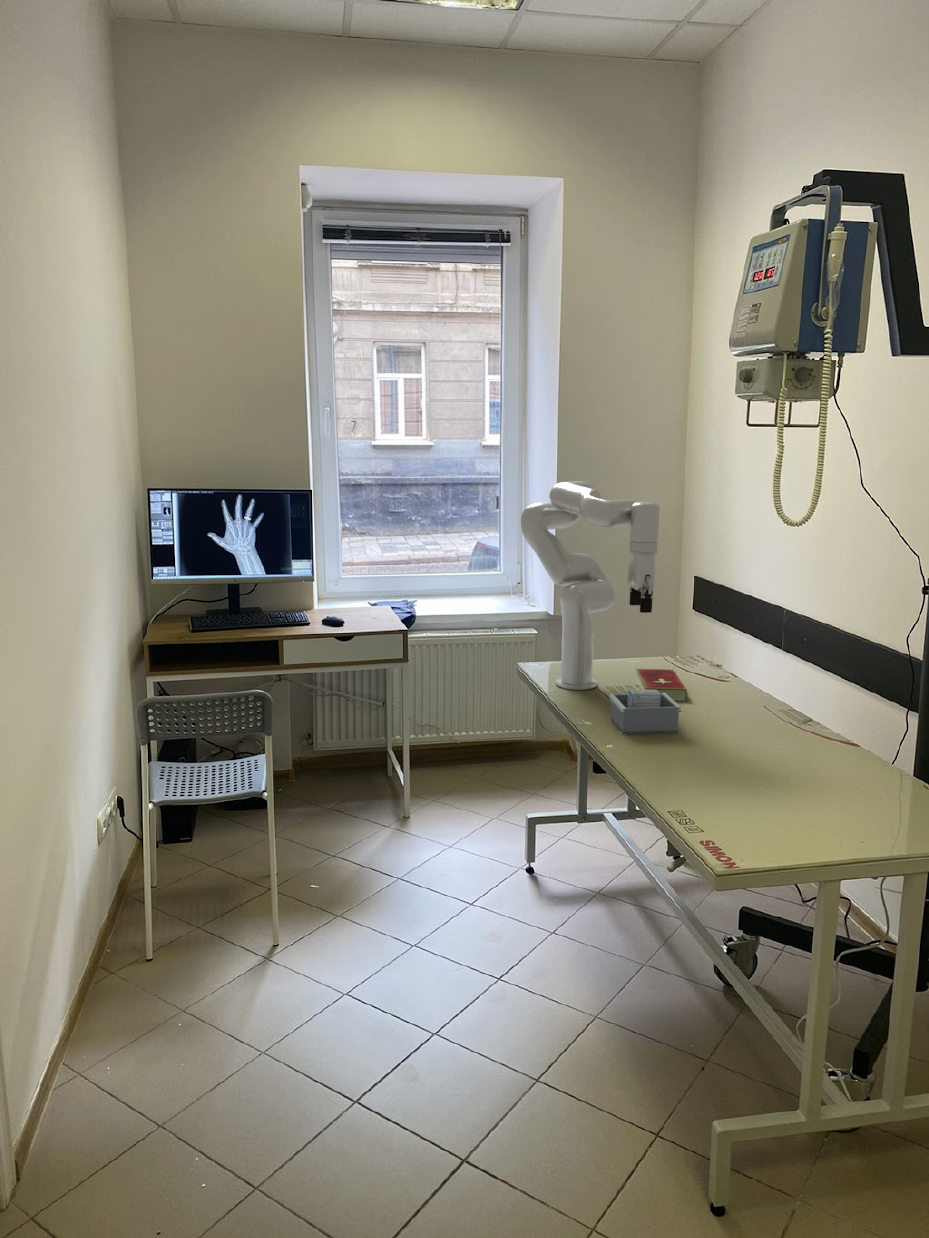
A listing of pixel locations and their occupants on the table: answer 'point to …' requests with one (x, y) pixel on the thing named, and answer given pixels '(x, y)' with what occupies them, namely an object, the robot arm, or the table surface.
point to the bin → (644, 716)
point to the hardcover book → (662, 682)
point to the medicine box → (643, 698)
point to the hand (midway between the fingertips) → (640, 608)
